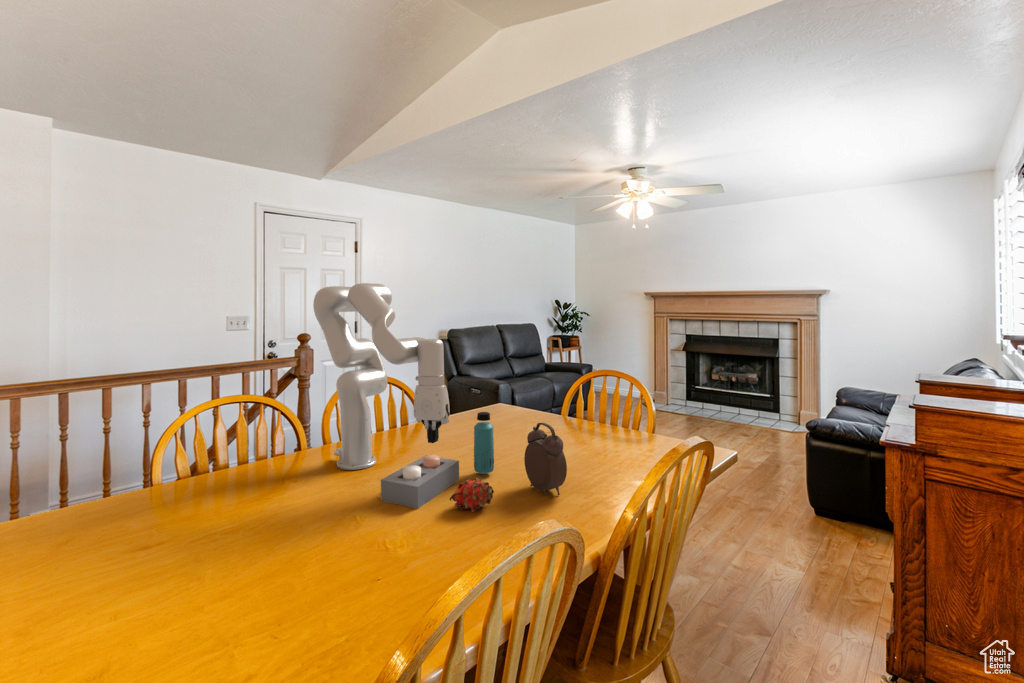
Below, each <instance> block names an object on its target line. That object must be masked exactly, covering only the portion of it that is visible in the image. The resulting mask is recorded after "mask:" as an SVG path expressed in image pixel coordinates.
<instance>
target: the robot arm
mask: <svg viewBox="0 0 1024 683" xmlns="http://www.w3.org/2000/svg"><path fill="white" fill-rule="evenodd" d="M392 301H393V295H392V293H391V291H390V289H389V287H387V286H386V285H384V284H383V283H382V284H381V283H369V282H365V283H364V282H361V283H356V284H354V285H352V286H343V285H342V286H341V285H339V286H336V285H334V286H332V285H331V286H326V287H322V288H320V289H319V290H318V291H316V293H315V295H314V299H313V312H314V316H315V318H316V320H317V322H318V323H319V324H318V325H319V326H320V328H321V330H322V332H323V335H324V338H325V341H326V344H327V345H326V346H327V347H328V350H329V353H330V357H331V360H332V361H333V364H334V366H336V367H337V368H339V369H348V368H349V369H350V368H355V367H360V368H357V369H353V370H348V371H345V372H344V373H342V374H341V375H339V377H338V378H337V379H336V384H335V385H336V391H337V396H338V401H339V412H340V413H339V414H340V440H341V442H340V443H341V447H336V450H335V451H334V452H333V456H337V457H339V458H338V460H337V461H336V467H337V468H338V469H340V470H345V471H357V470H363V469H367V468H370V467H372V466H374V465H376V463H377V457H376V456H374V455H372V421H371V420H372V416H371V415H372V414H371V407H370V405H369V404H368V402H367V400H366V398H367V397H372V396H375V395H380V394H382V393H384V391H386V389H387V387H388V375H387V372H386V370H385V367H384V366H385V365H384V363H383V360H382V357H383V358H384V359H385V360H386V361H387V362H389V363H390V364H392V365H397V366H398V365H399V366H401V365H404V364H406V365H407V364H410V363H411V364H413V363H417V370H418V371H417V374H418V375H416V376H415V381H417V382H418V384H417V385H416V386H415V389H414V390H415V391H414V396H413V397H414V398H413V416H414V418H415V419H416V421H417V422H419V423H421V424H422V425H423V426H424V429H425V430H426V438H427V443H428V444H429V443H430V444H434V443H436V442H439V438H440V437H439V434H440V433H439V429H440V428H441V426H442V425H447V424H448V423H450V419H449V417H450V399H449V392H448V388H447V385H446V384H445V358H444V356H445V354H444V352H445V351H444V342H443V341H442V339H440V338H423V337H416V336H414V337H405V338H404V337H403V338H396V337H395V335H394V334H393V333H392V332H391V331H390V329H388V328H389V327H390V326H391V325H392V324H393V322H394V321H395V319H396V312H395V310H394V309H393V308H392V307H391V304H392ZM344 312H345V313H347V312H349V313H350V312H351V313H352V312H354V313H355V312H356V313H358V314H359V315H360V316H361V317H362V318H363V319H364V320H365V321H366V323H367V324H369V327H371V331H370V332H371V339H372V340H371V339H369V338H364V337H363V338H362V337H359V338H355V336H354V335H353V333H352V330H351V326H350V325H349V322H347V320H346V319H345V318H344V317H343V316H342V315H341V314H340V313H344ZM381 356H382V357H381Z"/></svg>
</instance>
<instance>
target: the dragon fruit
mask: <svg viewBox="0 0 1024 683" xmlns="http://www.w3.org/2000/svg"><path fill="white" fill-rule="evenodd" d="M494 492H495V490H494V488H493V487H492V486H491V485H490V483H489V482H485V481H482V480H481V479H480V478H477V477H476V478H475V479H466V480H465V481H464V482H462V483H459V484H458V487H457V488H456V490H455V491H454V492H453V494H452V495H451V496H450V497H449V501H450V502H451V501H453V502H455V503H454V507H455V508H457V509H464V510H468V509H471V512H472V513H473V512H475V511H477V510H480V509H483V507H484V506H485V505H490V504H491V502H492V499H493V497H494V495H493V494H494Z"/></svg>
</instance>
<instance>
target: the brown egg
mask: <svg viewBox="0 0 1024 683" xmlns="http://www.w3.org/2000/svg"><path fill="white" fill-rule="evenodd" d="M424 456H425V457H424ZM424 456H422V457H423V467H427V468H432V469H435V468H437V467H439V466H440V458H441V456H440V455H438V454H428V455H427V456H426V455H424Z"/></svg>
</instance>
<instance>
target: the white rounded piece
mask: <svg viewBox="0 0 1024 683" xmlns="http://www.w3.org/2000/svg"><path fill="white" fill-rule="evenodd" d="M406 466H407V465H406ZM402 468H403V467H402ZM419 478H421V467H420V466H415V465H413V466H407V467H405V466H404V468H403V479H407V480H412V481H416V480H417V479H419Z"/></svg>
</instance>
